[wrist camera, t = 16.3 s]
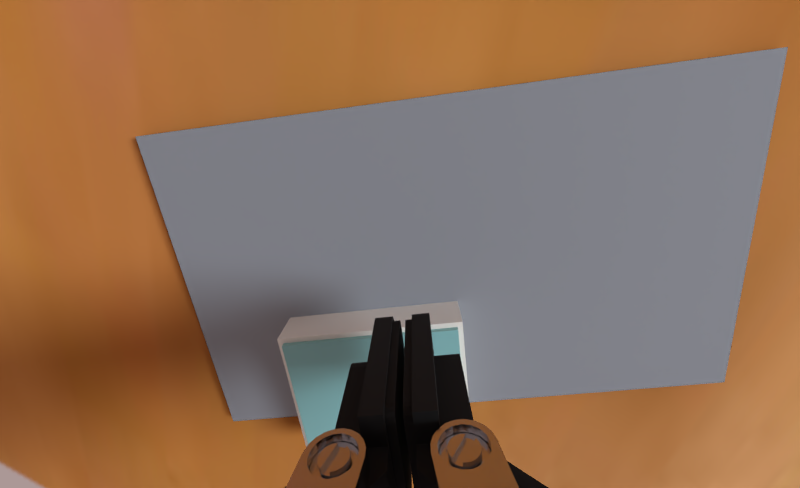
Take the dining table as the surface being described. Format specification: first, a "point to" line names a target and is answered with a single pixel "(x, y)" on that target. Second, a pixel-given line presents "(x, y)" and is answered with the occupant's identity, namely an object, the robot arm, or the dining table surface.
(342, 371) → the slab
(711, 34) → the dining table surface
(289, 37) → the dining table surface
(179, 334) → the dining table surface
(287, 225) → the mat
